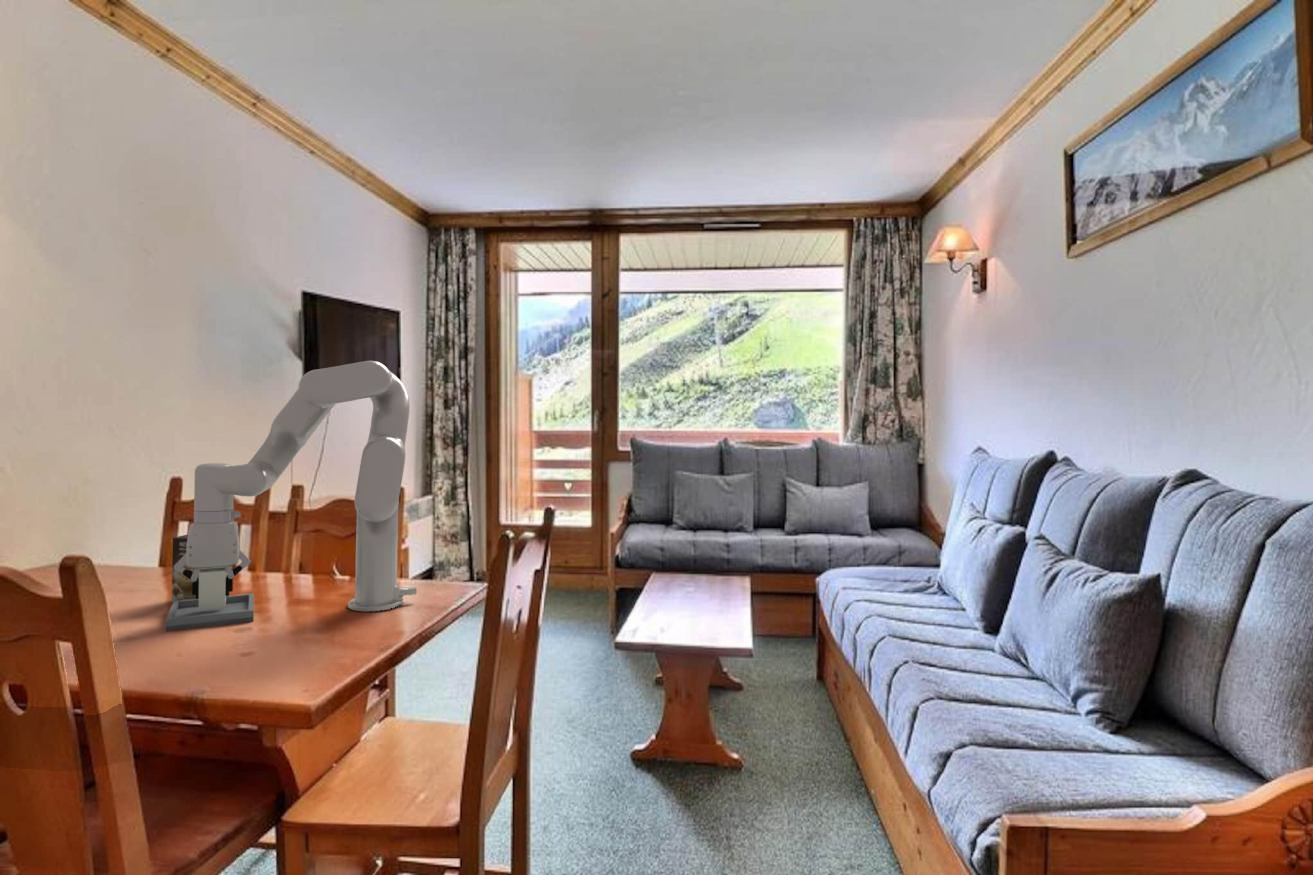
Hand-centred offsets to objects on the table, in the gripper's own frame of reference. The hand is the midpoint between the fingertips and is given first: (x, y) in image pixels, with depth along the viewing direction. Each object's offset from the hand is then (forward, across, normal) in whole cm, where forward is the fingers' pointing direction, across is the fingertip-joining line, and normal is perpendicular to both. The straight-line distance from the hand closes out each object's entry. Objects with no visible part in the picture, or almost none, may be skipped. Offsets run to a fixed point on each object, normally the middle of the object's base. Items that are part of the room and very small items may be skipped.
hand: (212, 595), depth 152 cm
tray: (+5, 0, 0) cm, 5 cm away
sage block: (+2, 0, 0) cm, 2 cm away
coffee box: (+5, +4, -17) cm, 18 cm away
